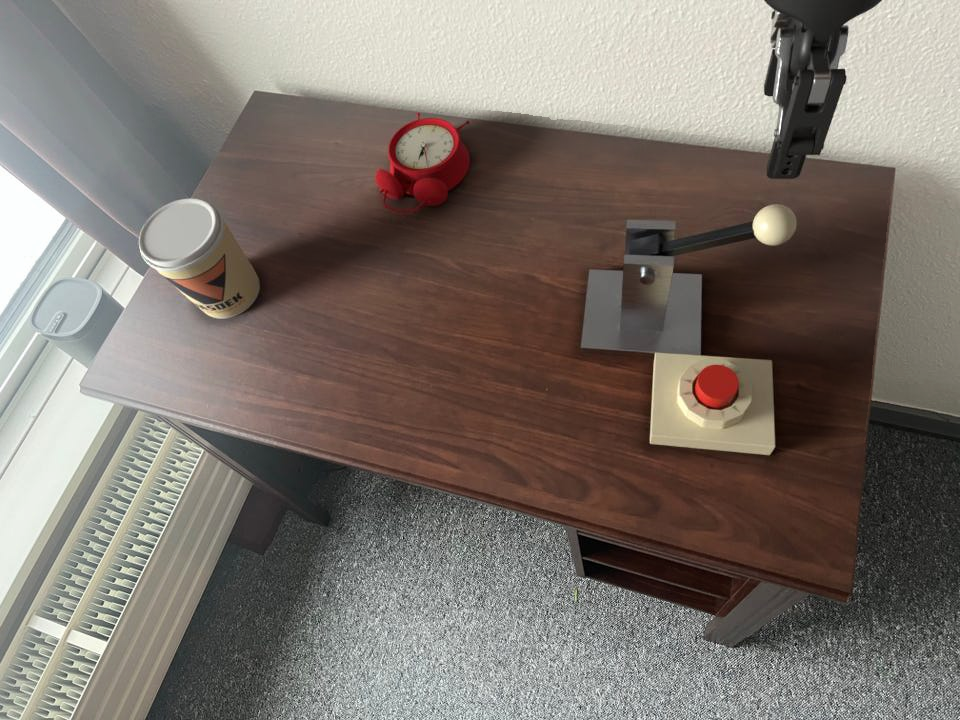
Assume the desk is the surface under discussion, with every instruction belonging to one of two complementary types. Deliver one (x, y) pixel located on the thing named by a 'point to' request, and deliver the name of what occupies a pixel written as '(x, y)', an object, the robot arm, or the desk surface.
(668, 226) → the bracket
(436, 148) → the alarm clock
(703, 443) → the control block
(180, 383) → the desk surface
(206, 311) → the cream tin can
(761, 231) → the lever
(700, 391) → the button
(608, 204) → the desk surface
